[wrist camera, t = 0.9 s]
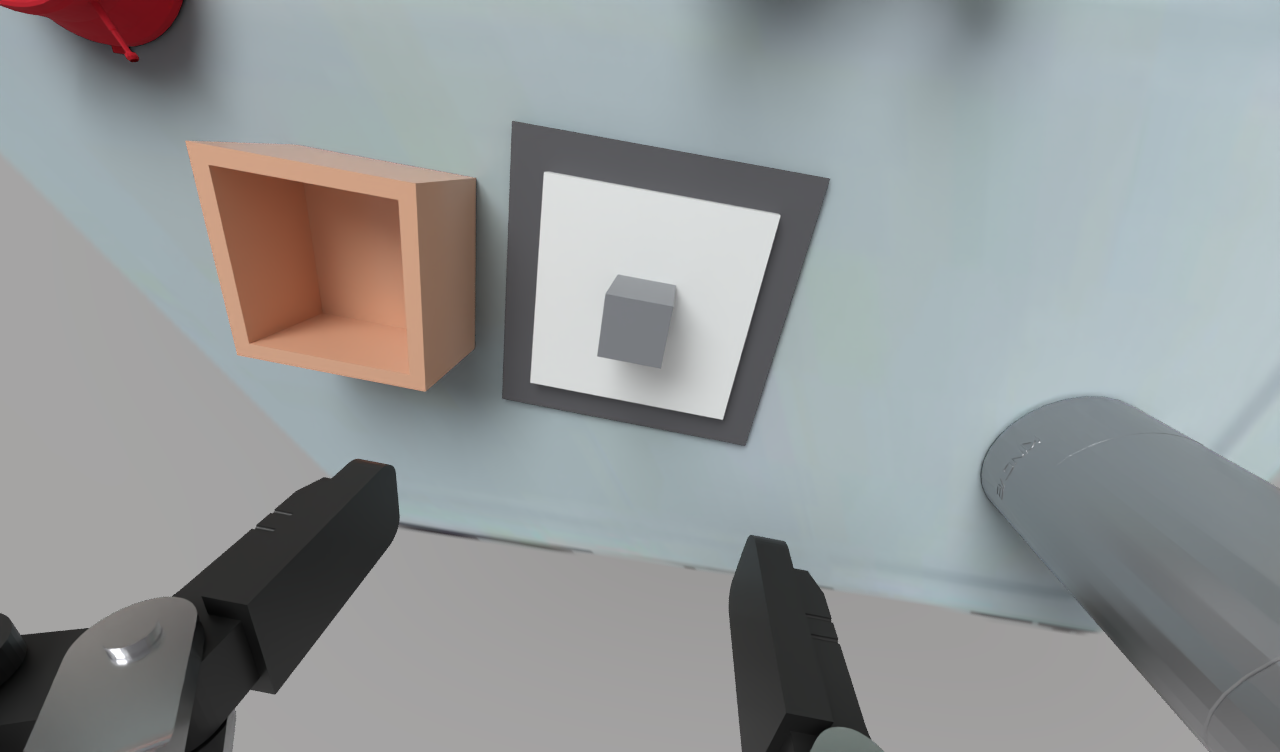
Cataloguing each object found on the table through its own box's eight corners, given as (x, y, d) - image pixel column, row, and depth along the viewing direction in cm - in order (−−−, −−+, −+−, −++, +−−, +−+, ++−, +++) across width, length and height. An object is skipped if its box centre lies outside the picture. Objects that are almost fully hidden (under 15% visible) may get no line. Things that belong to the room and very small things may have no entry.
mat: (827, 178, 23) (830, 178, 23) (744, 442, 30) (745, 445, 30) (514, 121, 23) (512, 121, 23) (504, 395, 30) (502, 398, 30)
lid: (777, 213, 24) (797, 225, 19) (721, 413, 29) (727, 458, 24) (548, 171, 24) (516, 174, 19) (534, 377, 29) (506, 415, 25)
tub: (475, 177, 25) (415, 183, 19) (475, 348, 29) (425, 391, 24) (295, 144, 25) (185, 140, 19) (321, 318, 29) (237, 355, 24)
